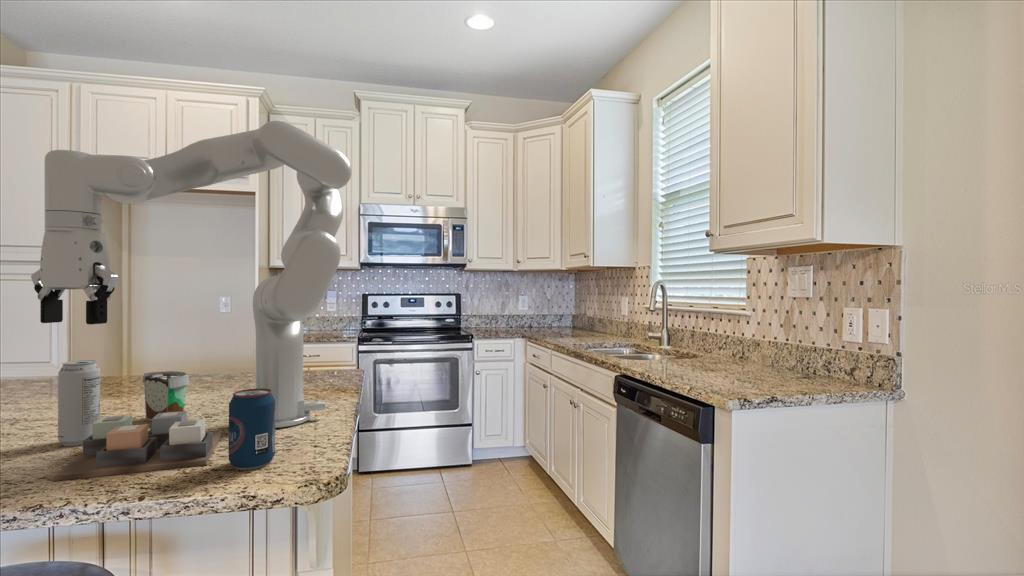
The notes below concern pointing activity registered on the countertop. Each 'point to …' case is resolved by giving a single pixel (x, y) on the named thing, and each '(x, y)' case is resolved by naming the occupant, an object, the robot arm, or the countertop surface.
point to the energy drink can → (78, 401)
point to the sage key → (109, 425)
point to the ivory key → (187, 432)
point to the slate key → (167, 421)
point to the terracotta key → (127, 437)
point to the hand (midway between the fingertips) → (74, 323)
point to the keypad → (138, 457)
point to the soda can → (251, 428)
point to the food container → (164, 392)
